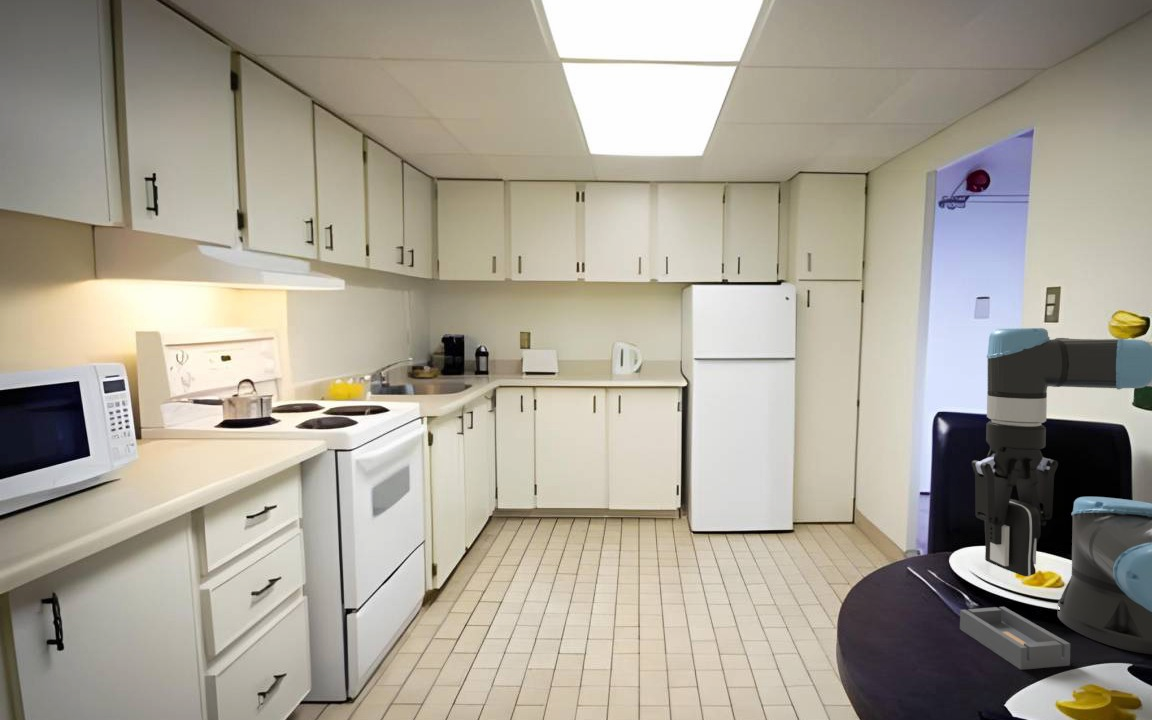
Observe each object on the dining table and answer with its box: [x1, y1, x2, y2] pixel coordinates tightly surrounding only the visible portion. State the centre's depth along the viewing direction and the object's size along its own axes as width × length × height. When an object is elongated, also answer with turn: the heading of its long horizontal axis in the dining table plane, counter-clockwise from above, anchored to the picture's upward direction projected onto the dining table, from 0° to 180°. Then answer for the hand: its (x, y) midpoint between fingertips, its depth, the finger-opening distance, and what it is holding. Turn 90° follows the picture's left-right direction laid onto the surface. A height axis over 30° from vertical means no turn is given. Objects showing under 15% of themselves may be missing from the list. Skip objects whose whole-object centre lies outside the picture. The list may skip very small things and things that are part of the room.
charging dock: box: [959, 606, 1071, 671], centre depth 88 cm, size 8×12×4 cm
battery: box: [984, 498, 1041, 577], centre depth 88 cm, size 7×4×11 cm, turn 14°
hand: (1012, 561), depth 88 cm, fingers closed on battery, 4 cm apart
